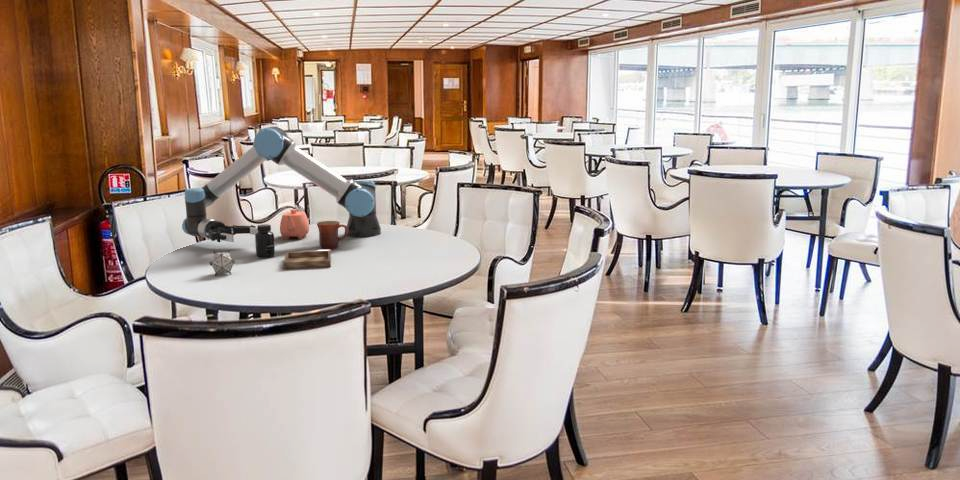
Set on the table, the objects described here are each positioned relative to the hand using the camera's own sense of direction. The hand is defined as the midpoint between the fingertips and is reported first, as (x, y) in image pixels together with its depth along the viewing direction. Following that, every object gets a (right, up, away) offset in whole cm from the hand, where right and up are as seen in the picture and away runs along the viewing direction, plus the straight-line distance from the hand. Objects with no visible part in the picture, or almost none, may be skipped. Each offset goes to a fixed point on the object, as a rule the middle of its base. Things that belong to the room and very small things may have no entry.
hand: (247, 235), depth 271 cm
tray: (+27, -10, -14) cm, 32 cm away
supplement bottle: (+8, -8, -4) cm, 12 cm away
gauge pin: (+26, -8, -2) cm, 27 cm away
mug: (+31, -5, +10) cm, 33 cm away
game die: (+1, -14, -29) cm, 32 cm away
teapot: (+10, -1, +31) cm, 32 cm away
